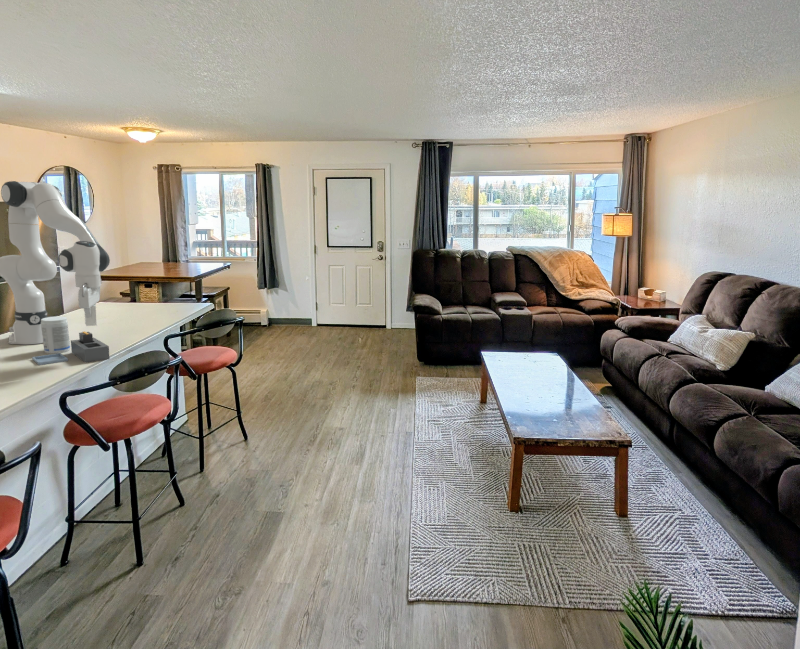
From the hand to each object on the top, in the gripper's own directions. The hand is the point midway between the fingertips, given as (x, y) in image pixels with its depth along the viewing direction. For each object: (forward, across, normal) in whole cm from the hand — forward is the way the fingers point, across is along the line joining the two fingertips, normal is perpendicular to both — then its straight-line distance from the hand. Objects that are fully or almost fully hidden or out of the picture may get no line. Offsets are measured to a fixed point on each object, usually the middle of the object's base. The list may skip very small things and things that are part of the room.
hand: (90, 315), depth 217 cm
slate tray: (+19, 0, +15) cm, 24 cm away
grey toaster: (+18, +4, +2) cm, 19 cm away
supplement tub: (+19, +15, +17) cm, 29 cm away
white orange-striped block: (+4, 0, 0) cm, 4 cm away
